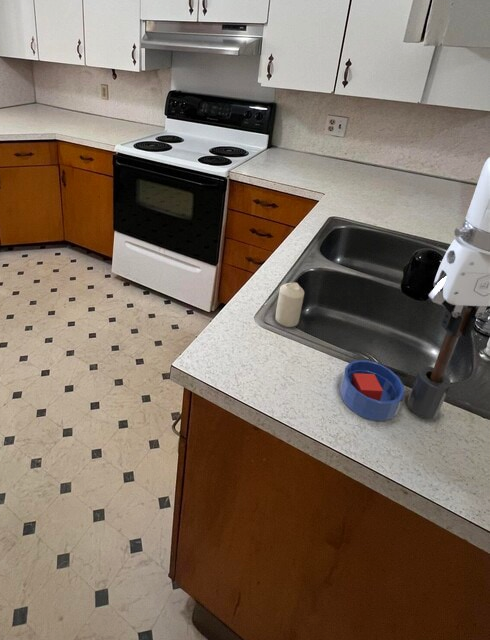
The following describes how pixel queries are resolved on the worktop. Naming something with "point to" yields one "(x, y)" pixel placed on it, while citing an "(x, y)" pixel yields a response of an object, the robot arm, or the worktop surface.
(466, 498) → the worktop surface
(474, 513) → the worktop surface
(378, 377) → the bowl
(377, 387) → the red block
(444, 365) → the stirring stick
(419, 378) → the utensil holder
